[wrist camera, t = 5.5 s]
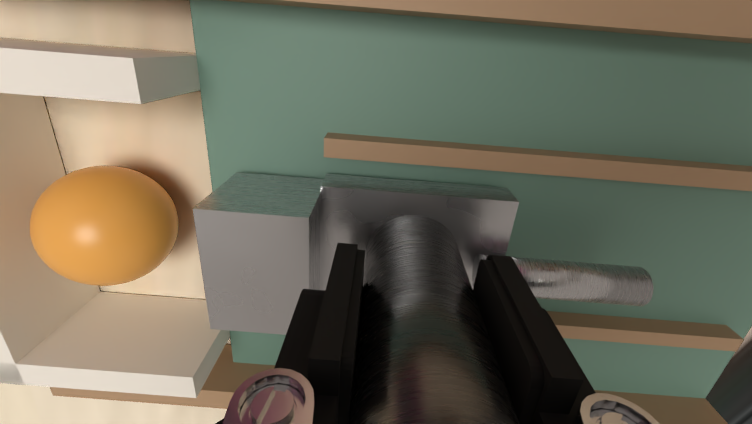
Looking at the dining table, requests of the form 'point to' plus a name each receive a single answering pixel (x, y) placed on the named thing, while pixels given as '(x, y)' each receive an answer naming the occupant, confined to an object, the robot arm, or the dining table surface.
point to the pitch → (422, 172)
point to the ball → (103, 225)
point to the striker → (387, 282)
